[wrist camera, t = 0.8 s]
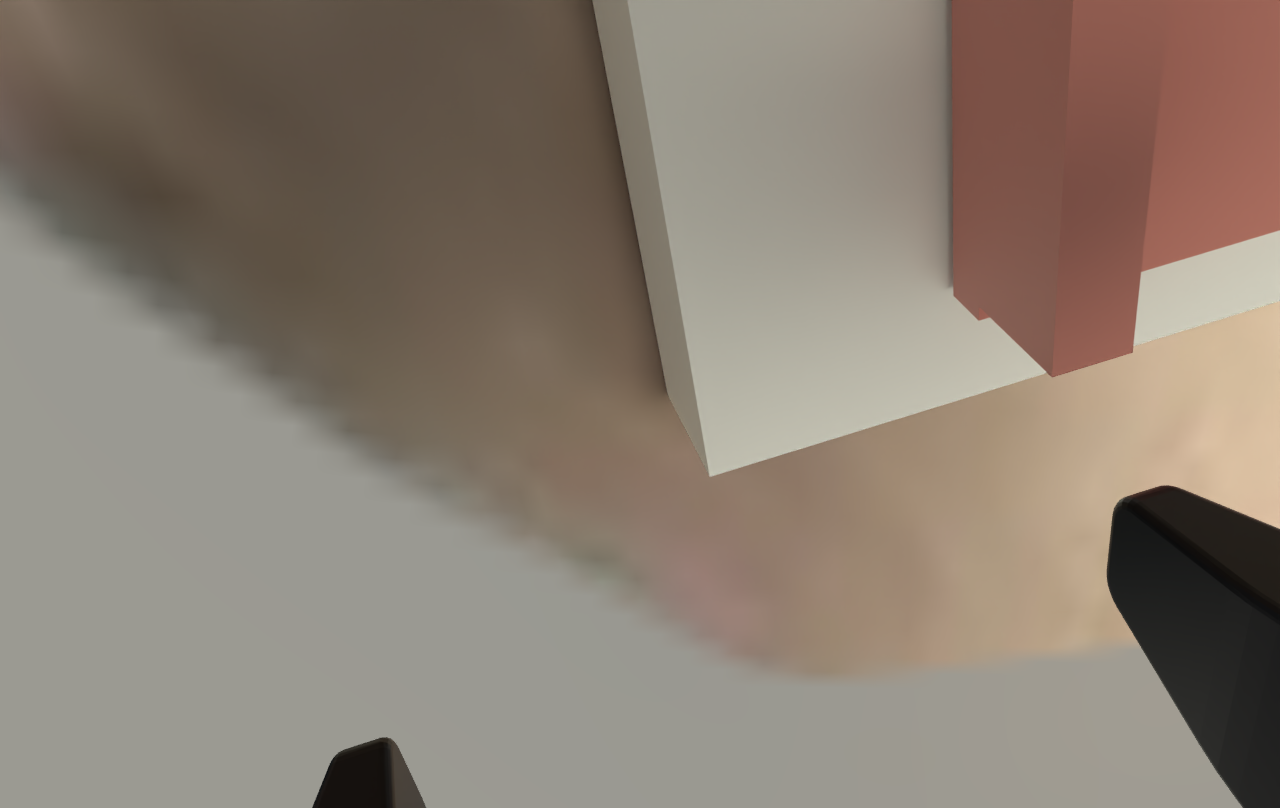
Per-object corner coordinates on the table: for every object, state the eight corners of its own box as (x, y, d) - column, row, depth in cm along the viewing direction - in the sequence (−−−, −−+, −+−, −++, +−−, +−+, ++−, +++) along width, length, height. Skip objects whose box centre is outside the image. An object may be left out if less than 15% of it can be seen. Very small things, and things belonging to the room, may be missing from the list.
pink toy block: (1417, -272, 15) (1621, -253, 13) (1323, 185, 19) (1468, 263, 16) (950, -155, 14) (1079, -112, 12) (953, 295, 18) (1051, 392, 16)
